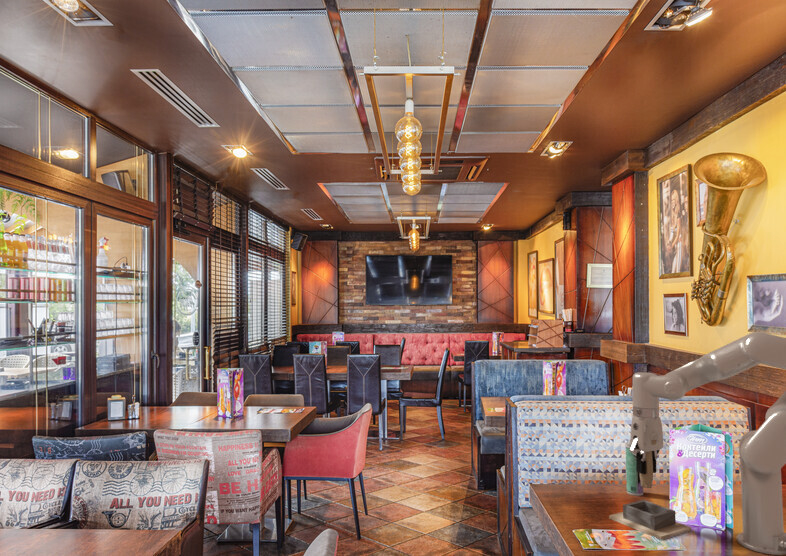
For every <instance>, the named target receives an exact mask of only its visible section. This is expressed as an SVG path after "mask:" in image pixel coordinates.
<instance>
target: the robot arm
mask: <svg viewBox="0 0 786 556" xmlns="http://www.w3.org/2000/svg"><path fill="white" fill-rule="evenodd" d="M760 364H761V365H765V366H768V367H772V368H776V369H781V370H785V371H786V337H783V336H779V335H775V334H771V333H767V332H763V331H755V332H750V333H748V334H746V335H744V336H742V337H739V338H737V339H735V340H733V341H732V342H730V343H727V344H725V345H723V346H721V347H719V348H717V349H714V350H712V351H710V352H708V353H706V354H704V355H703V356H701V357H700V358H697V359H695V360H692V361H690V362H688V363H686V364H684V365H682V366H680V367H678V368H676V369H674V370H671V371H669V372H667V373H665V374H664V375H657V374H656V373H652V372H646V371H645V372H643V371H642V372H639V371H638V372H634V374H633V375H632V419H631V426H630V439H631V448H630V452H631V453H632V454H633V455H634V456H635V459H636V471H637V472H638V473H641V474H646V473H647V467H646V461H645V455H646V452H650V451H652V459H653V473H657V459H658V454H659V453H660V451H661V450H662V449H664V431H663V424H662V420H661V419H662V418H661V417H660V399H664V400H669V401H678V400H681V399H683V397H684V396H685V395H686V393H688V392H690V391H692V390H693V389H696V388H698V387H701V386H703V385H706V384H709V383H712V382H717V381H724V380H726V379H729V378H732V377H734V376H736V375H738V374H740V373H742V372H745V371H747V370H749V369H751V368H754V367H756V366H758V365H760ZM652 440H656V444H655V445H652V444H651V441H652ZM639 448H640V449H639ZM738 448H739V451H738V452H739V462H740V483H741V485H740V487H741V488H740V489H741V491H740V493H741V515H742V518H741V519H742V532H740V533H739V534H737V535H736V541H737V543H739V544H740V545H741V546H742V547H744V548H746V549H748V550H751V551H754V552H757V553H762V554H766V555H773V556H785V555H786V532H784V531H785V530H784V513H783V512H784V511H783V483H782V468H783V467H784V466H785V465H786V390H785V391H784V392H783V393H782V394H781V395H780V397H778V399H777V400H776V401H775V402H774V403H773V404H772V405H771V406H770V407H769V408H768V409H767V411H766V413H765V420H764V422H763V423H762V424H761V425H760V426H759V428H758V429H757V430H755V429H754V430H749V431H747V432H745V433H744V434H743V435H742V436H741V437H740V440H739V444H738ZM639 452H642V455H641V454H640V453H639Z"/></svg>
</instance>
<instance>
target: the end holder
mask: <svg viewBox="0 0 786 556" xmlns="http://www.w3.org/2000/svg"><path fill="white" fill-rule="evenodd" d="M608 517H609V518H608V519H609V520H612V521H614V522H617V523H619V524H621V525H624V526H627V527H628V528H631V529H634V530H637V531H638V532H640V533H643V534H646V535H647V536H650V535H651V537H653V536H654V537H653V538H655V537H656V538H655V539H658V540H660V541H663V540H666V539H668V538H672V537H676V536H679V535H681V534H684V533H688V532H691V531H692V527H691V526H689V525H687V524H683V523H680V522H679V521H676V510H674V509H671V508H668V507H666V506H662V505H660V504H657V503H654V502H652V501H648V500H645V499H642V500H636V501H633V502H630V503H626V504H625V503H624V504H623V505H622V512H617V513H613V514H609V516H608ZM665 538H666V539H665ZM662 539H663V540H662Z"/></svg>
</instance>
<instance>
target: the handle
mask: <svg viewBox="0 0 786 556" xmlns="http://www.w3.org/2000/svg"><path fill="white" fill-rule="evenodd" d="M651 444H652V445H655V444H656V440H652V441H651ZM640 454H641V455H642V452H640ZM645 461H646V467H647V473H646V474H641V473H640V481H641V486H642V487H643V489H644V488H645V489H652V488H653V479H654V472H653V459H652V451H650V452H646V455H645Z"/></svg>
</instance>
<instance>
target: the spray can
mask: <svg viewBox="0 0 786 556" xmlns="http://www.w3.org/2000/svg"><path fill="white" fill-rule="evenodd" d="M629 439H630V440H629V441H628V442H626V443H625V467H626V468H625V469H626V470H625V471H626V494H628V495H631V496H636V497H637V496H638V497H640V496H643V495H644V487H642V486H641V481H640V473H638V472H637V471H636V459H635V456H634V455H633V454H632V453H631V452H630V448H631V438H629ZM639 449H640V448H639ZM639 453H640V452H639Z"/></svg>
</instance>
